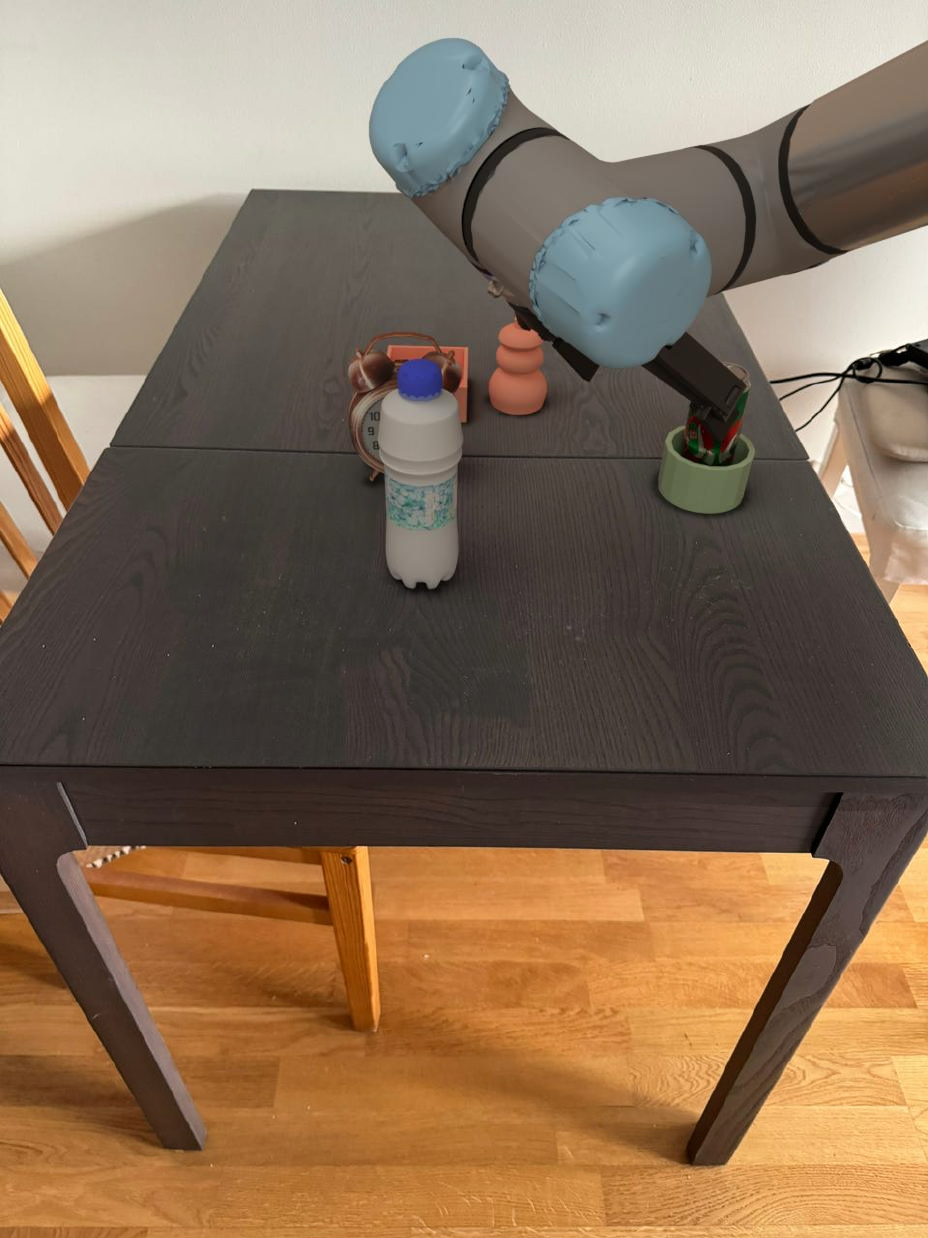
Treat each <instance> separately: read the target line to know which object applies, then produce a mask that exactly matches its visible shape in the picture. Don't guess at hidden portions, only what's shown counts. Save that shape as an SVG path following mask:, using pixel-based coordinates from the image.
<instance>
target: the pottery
mask: <svg viewBox="0 0 928 1238" xmlns="http://www.w3.org/2000/svg"><path fill="white" fill-rule="evenodd" d="M513 320H514V322H512V323H509V324H507V325H505V326H504V327H502V328H501V329H500V330H499V334H498V336H497V338H498V340H499V342H500V345H499V346H498V347H497V349H496V353H495V360H496V364H497V366H498V367H497V368H496V369H495V370H494V372H493V373H492V374H491V377H490V379H489V382H488V394H489V398H490V403H491V405H492V407H493V408H494V409H495V410H497V411H499V412H501V413H504V414H508V415H513V416H523V415H530V414H534V413H536V412H538V411H540V410H541V409H542V408H543V405H544V402H545V400H546V397H547V394H548V382H547V379H546V377H545V375H544V373H543V371H542V370H540V368H541V366H542V365H543V364H544V359H545V354H544V351H543V348H542V347H541V345H542V344H543V342H544V341H543V340H542V339H541V337H539V336H538V333H537V332H535V331H534V330H532V329H531V331H527V330H526V331H525V330H523V329H522V328H521V327H520V325H519V324H518V322H517V319H516V316H515V317H514V319H513ZM439 348H440V349H441V351H442V352H445V353H448V352H449V351H450V350H453V351H454V352H455V356H454V357H453V358H454V359H455V360H456V361H457V362H458V363H459V365H460V367H461V370H462V380H461V383H460V385H459V388H458V389H457V391H456V392H455V393H454V395H455V398H456V399H457V401H458V404H459V412H460V421H461V423H467V413H468V412H467V410H468V375H469V374H468V373H469V371H468V370H469V369H468V368H469V346H439ZM431 351H436V349H435V347H434V346H429V345H396V344H395V345H393V344H392V345H391V344H389V345H388V346H387V351H386V355H387V356H388V357H389V358H390V359H391V360H392V362H393V361H395V360H399V359H408V360H413V359H421V358H422V357H423V356H424V355H426V354H427V353H428V352H431Z"/></svg>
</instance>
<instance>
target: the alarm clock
mask: <svg viewBox="0 0 928 1238" xmlns="http://www.w3.org/2000/svg"><path fill="white" fill-rule="evenodd" d="M393 338H413V339H414V338H415V339H418V340H425V341H428V342H429V343H431V344H432V345H433V346H434V347H435V349H436V351H431V352H428V353H427V354H426V355H424V356H423V357H422V358H421V359H427V360H430V361H433V362H435V363H436V364H437V365H438V366H439V367H440V369H441V371H442V380H443V385H442V389H444V390H446V391H448V392H450V393H451V394H452V395H453V396H454V397H455V395H454V393H455V392H456V391H457V389H458V388H459V385H460V383H461V380H462V370H461V367H460V365H459V363H458V362H457V361H456V360H455V359H454V358H453V357H454V356H455V352H454V351H453V350H450V351H449V352H448V353H445V352H442V351H441V349H440V348H439V347H440V346H439V344H438V342H437V341H436V339H435V338H434V337H432V335H427V334H423V333H419V332H414V331H392V332H387V333H382V334H379V335H376V336H375V335H374V337H372V339H370V341H369V342H368V344H367V346H366V348H365V349H364V350H363V351H362V349H360V348H355V349H354V355H355V357H354V358H352V359H351V360H350V361H349V366H348V370H347V376H348V381H349V384H350V385H351V387H352V390H353V392H352V395H351V399H350V404H349V408H348V428H349V434H350V439H351V443H352V445H353V447H354V450H355V452H356V453H357V455H358V456H359V457H360V459H362V460H363V462H364V463H366V464H367V465H368V466H369V467H371V468H372V469H374V470H373V472H372V475H370V476H369V481H371V482H375V480H376V477H377V476H378V475H379V474H380V473H382V474H384V463H383V462H382V460H381V458H380V455H379V449H380V447H379V444H378V433H379V424H380V414H381V405H382V401H383V399H384V398H385V397H386V395H388V394H389V393H390V392H392V391H393V390H396V389H398V381H397V376H398V371H399V368H400V367H401V366H402V364H403V363H405V362H407V361H409V360H408V359H399V360H395V361H393V362H392V360H391V359H390V358H389V357H388V356H387V353H385V352H383V351H382V350H379V349H372V348H373V346H374V344H376V343H378V342H379V341H382V340H386V339H393Z"/></svg>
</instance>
